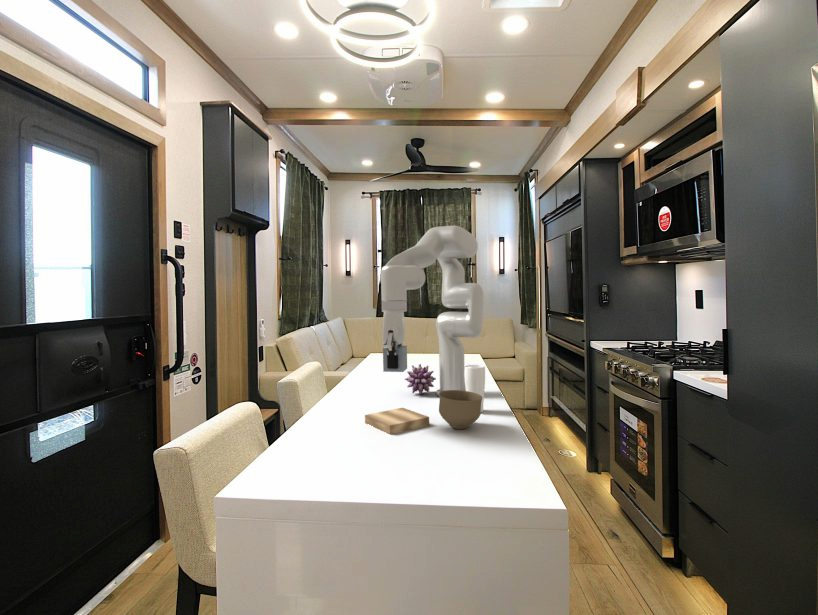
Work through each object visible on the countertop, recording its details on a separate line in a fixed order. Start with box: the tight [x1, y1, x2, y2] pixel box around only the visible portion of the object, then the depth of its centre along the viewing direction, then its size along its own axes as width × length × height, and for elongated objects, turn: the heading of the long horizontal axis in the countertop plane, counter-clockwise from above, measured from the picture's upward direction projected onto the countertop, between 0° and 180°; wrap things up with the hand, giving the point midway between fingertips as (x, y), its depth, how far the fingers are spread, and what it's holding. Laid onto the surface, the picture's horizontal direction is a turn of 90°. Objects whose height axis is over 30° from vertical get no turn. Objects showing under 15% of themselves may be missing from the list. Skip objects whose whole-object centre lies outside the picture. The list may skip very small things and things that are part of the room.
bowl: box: [438, 390, 482, 430], centre depth 134 cm, size 13×13×10 cm
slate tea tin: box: [382, 345, 408, 373], centre depth 138 cm, size 6×6×7 cm
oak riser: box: [364, 407, 430, 435], centre depth 139 cm, size 14×14×3 cm
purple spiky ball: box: [404, 363, 437, 395], centre depth 176 cm, size 12×12×12 cm
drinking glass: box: [464, 364, 486, 413], centre depth 151 cm, size 7×7×15 cm
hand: (395, 366), depth 138 cm, fingers closed on slate tea tin, 6 cm apart
